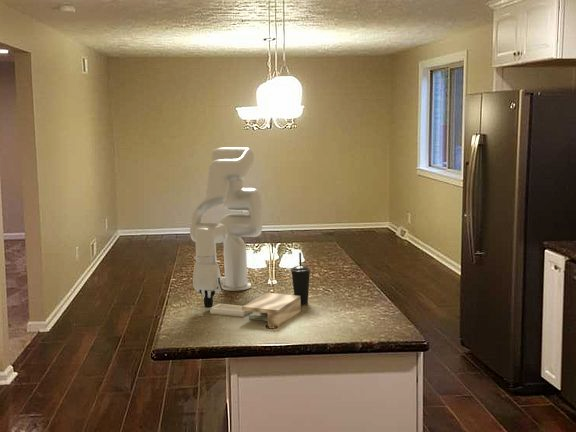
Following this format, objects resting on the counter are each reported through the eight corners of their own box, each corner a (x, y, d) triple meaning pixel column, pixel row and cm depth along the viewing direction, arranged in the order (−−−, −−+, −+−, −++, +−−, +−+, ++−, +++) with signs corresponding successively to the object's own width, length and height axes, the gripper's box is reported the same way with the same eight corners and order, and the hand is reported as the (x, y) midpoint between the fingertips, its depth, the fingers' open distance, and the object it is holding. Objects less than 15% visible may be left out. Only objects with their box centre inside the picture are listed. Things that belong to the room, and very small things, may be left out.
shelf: (242, 322, 256) (241, 306, 255) (267, 307, 274) (266, 292, 273) (278, 326, 250) (277, 310, 249) (300, 311, 268) (300, 295, 267)
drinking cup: (299, 299, 284) (298, 250, 281) (315, 302, 279) (314, 252, 276) (287, 304, 278) (286, 253, 275) (303, 307, 273) (301, 255, 270)
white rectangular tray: (210, 313, 268) (210, 308, 268) (219, 308, 275) (219, 303, 274) (243, 316, 263) (243, 311, 262) (252, 311, 269) (252, 306, 269)
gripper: (184, 260, 269) (186, 307, 272) (218, 263, 263) (220, 311, 266) (194, 256, 276) (197, 302, 279) (228, 258, 270) (230, 306, 273)
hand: (208, 306), depth 272 cm, fingers closed
